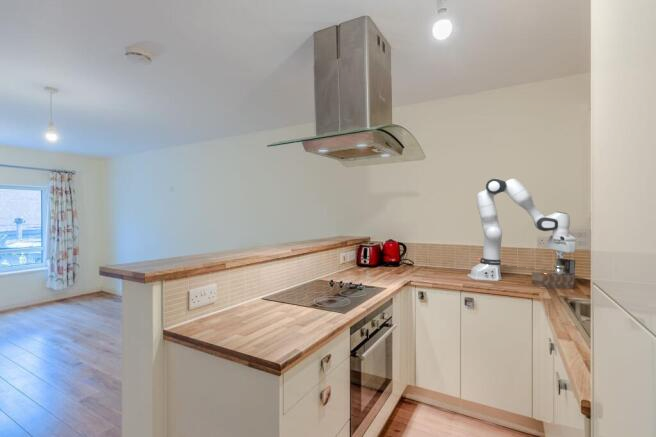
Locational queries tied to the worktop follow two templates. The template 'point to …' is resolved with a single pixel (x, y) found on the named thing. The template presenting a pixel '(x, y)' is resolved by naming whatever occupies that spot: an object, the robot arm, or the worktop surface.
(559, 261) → the coffee box
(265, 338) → the worktop surface
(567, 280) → the socket block
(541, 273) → the peg
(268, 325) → the worktop surface
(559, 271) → the peg
